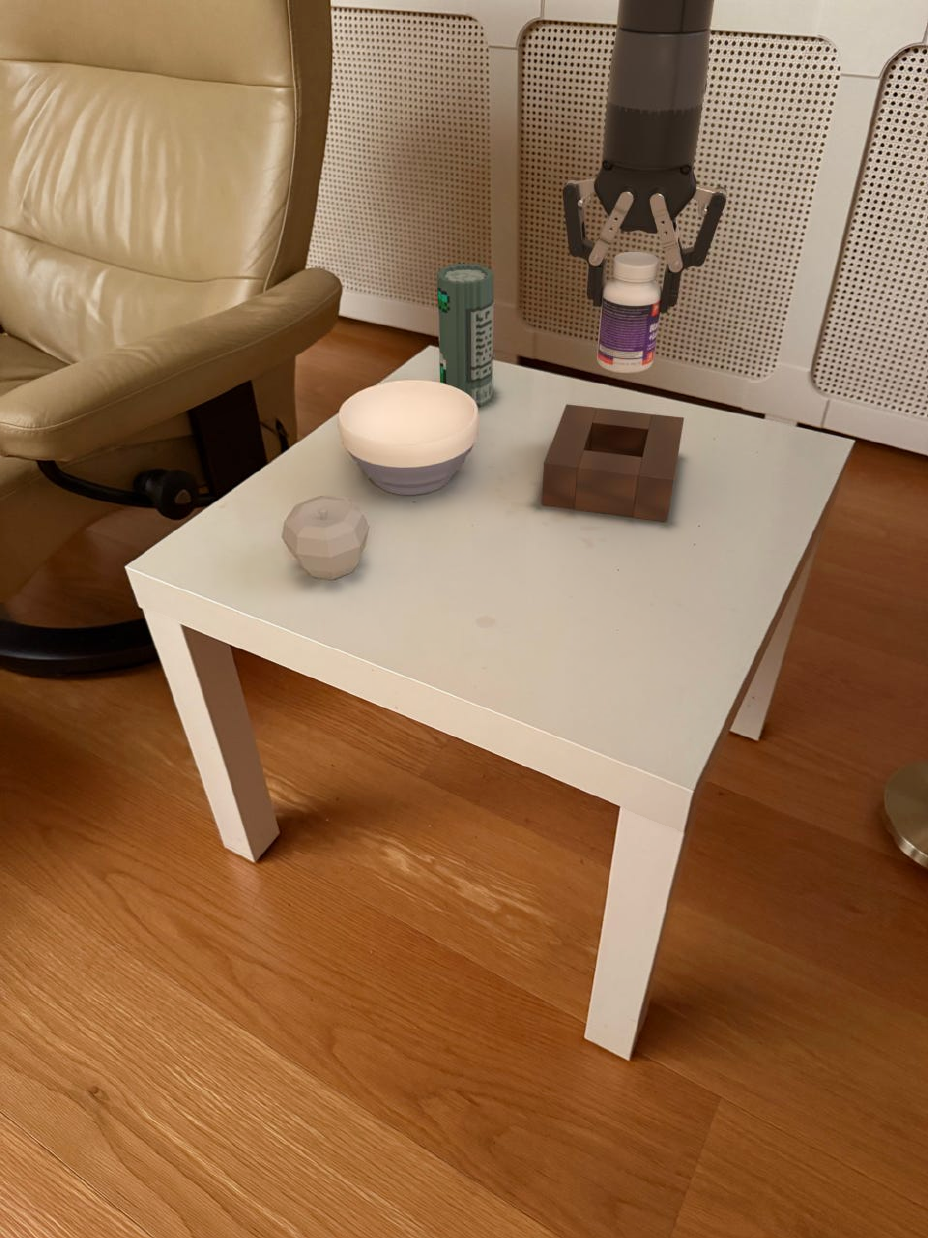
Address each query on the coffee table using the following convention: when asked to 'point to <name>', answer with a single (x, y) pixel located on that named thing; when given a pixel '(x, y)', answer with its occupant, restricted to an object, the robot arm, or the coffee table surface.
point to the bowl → (409, 433)
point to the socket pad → (613, 462)
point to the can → (466, 329)
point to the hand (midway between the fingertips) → (631, 305)
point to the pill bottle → (630, 314)
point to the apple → (326, 536)
